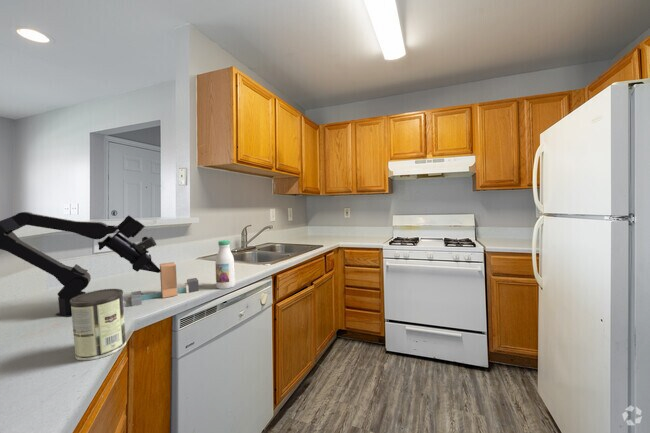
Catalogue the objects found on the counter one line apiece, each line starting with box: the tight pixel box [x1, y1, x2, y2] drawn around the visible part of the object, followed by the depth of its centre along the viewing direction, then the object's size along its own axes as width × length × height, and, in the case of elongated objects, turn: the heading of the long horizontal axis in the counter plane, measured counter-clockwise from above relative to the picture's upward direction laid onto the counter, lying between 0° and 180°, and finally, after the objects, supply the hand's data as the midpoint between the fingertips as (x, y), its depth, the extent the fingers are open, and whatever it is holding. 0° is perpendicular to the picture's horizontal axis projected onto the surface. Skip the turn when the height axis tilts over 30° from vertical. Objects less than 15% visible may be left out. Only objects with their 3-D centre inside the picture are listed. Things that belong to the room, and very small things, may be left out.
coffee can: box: [70, 288, 127, 361], centre depth 70 cm, size 10×10×14 cm
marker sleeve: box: [159, 261, 178, 299], centre depth 111 cm, size 5×7×12 cm
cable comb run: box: [131, 277, 200, 307], centre depth 111 cm, size 23×12×4 cm, turn 125°
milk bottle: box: [215, 239, 236, 290], centre depth 120 cm, size 8×8×20 cm
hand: (159, 271), depth 110 cm, fingers closed, pressing on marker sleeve
